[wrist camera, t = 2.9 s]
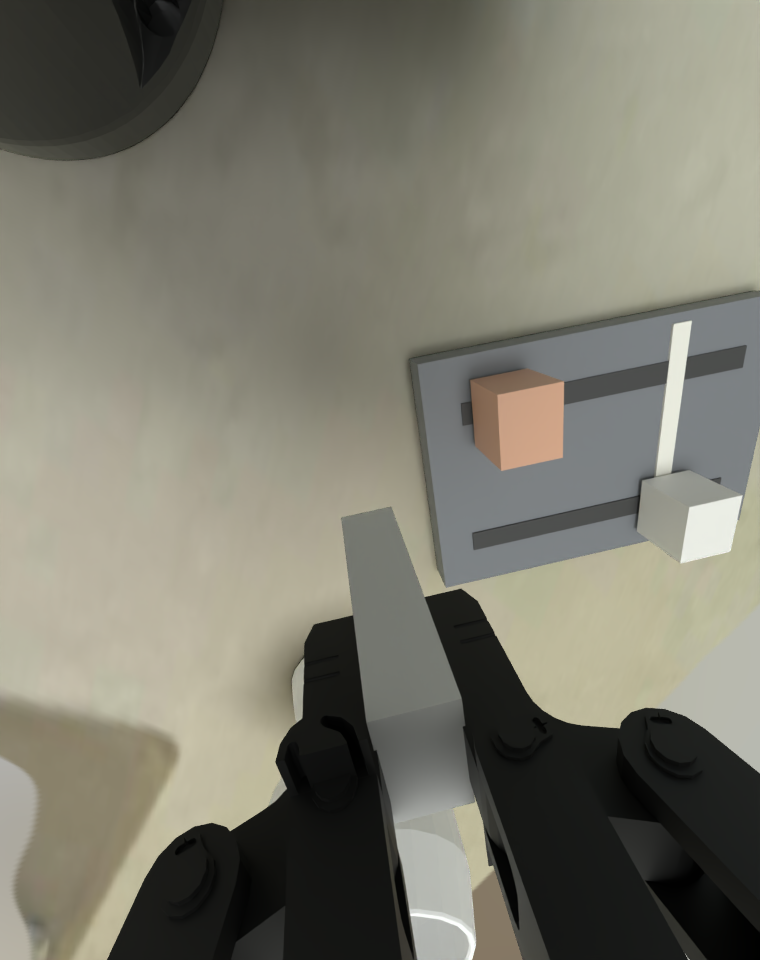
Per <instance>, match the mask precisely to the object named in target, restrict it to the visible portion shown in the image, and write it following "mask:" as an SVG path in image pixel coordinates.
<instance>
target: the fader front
mask: <svg viewBox="0 0 760 960" xmlns="http://www.w3.org/2000/svg"><path fill="white" fill-rule="evenodd" d="M470 385H471V398H472V411H473V424H474V437H475V447H477V448H478V449H479V450H480V451H481V452H482V453H483V454H484V455H485V456H486V457H487V458H488V459H489V460H490V461H491V462H492V463H493V464H494V465H495V466H497V467H498V468H499V469H500V470H501V471H503V470H508V469H513V468H517V467H522V466H527V465H531V464H536V463H540V462H545V461H550V460H554V459H559V458H563V418H564V381H562V380H559V379H556V378H553V377H550V376H548V375H545V374H542V373H539V372H536V371H533V370H530V369H528V368H526V369H521V370H517V371H512V372H507V373H502V374H497V375H492V376H487V377H482V378H477V379H472V380H470Z"/></svg>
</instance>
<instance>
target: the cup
mask: <svg viewBox="0 0 760 960" xmlns="http://www.w3.org/2000/svg"><path fill="white" fill-rule="evenodd" d="M304 667H305V666H304V659H303V660H302V661H301V662H300V663H299V665H298V666H297V668H296V669H295V671H294V675H293V678H292V693H293V706H294V713H295V719H296V723H297V722H298V721H299V720H301V719H302V716H303V684H304ZM286 789H287V788H286V786H285V783H284V781H283V779H282V777H281V779H280V781H279V782H278V784H277V786H276V788H275V789H274V792H273V794H272V797H271V800H270V803H269V806H270V805H271V804H272V803H274V802H275V801H276V800H277V799H278V798H279V797H280V796H281V795H282V793H283V792H284V791H285V790H286ZM394 827H395V834H396V840H397V847H398V851H399V855H400V859H401V862H402V866H403V873H404V879H405V885H406V892H407V898H408V904H409V911H410V917H411V923H412V930H413V936H414V942H415V949H416V955H417V960H472V958H473V954H474V950H475V947H476V936H475V925H474V913H473V901H472V890H471V878H470V870H469V866H468V862H467V858H466V854H465V851H464V847H463V843H462V840H461V836H460V832H459V829H458V825H457V821H456V818H455V814H454V810H453V808H451V809H448V810H444V811H440V812H436V813H433V814H429V815H425V816H421V817H418V818H414V819H410V820H406V821H403V822H399V823H395V824H394Z"/></svg>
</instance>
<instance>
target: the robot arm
mask: <svg viewBox="0 0 760 960" xmlns="http://www.w3.org/2000/svg"><path fill="white" fill-rule="evenodd" d="M222 2H223V0H0V149H2V150H5V151H9V152H12V153H16V154H20V155H24V156H29V157H34V158H41V159H49V160H82V159H91V158H96V157H101V156H106V155H109V154H112V153H115V152H119V151H121V150H124V149H126V148H128V147H131V146H133V145H135V144H136V143H138V142H140V141H142V140H144V139H145V138H147V137H148V136H150V135H151V134H152V133H154V132H155V131H157V130H158V129H159V128H160V127H161V126H163V125H164V124H165V123H166V122H167V121H168V120H169V119H170V118H171V117H172V116H173V115H174V114H175V113H176V112H177V110H178V109H179V108H180V107H181V105H182V104H183V103H184V102H185V100H186V99H187V97H188V96H189V94H190V93H191V91H192V90H193V88H194V86H195V85H196V83H197V81H198V79H199V78H200V76H201V73H202V71H203V69H204V67H205V65H206V62H207V60H208V57H209V55H210V52H211V49H212V46H213V43H214V39H215V36H216V32H217V29H218V24H219V19H220V14H221V9H222ZM341 520H342V528H343V536H344V544H345V552H346V561H347V569H348V577H349V585H350V593H351V601H352V609H353V616H348V617H344V618H340V619H336V620H331V621H327V622H323V623H318V624H314V625H313V627H312V629H311V631H310V633H309V635H308V637H307V639H306V641H305V645H304V666H305V667H304V684H303V716H302V719H301V720H299V721H298V722H297V723H296V724H295V725H294V726H292V727H291V728H290V730H289V731H288V733H287V734H286V736H285V737H284V739H283V740H282V742H281V744H280V747H279V750H278V754H277V758H276V765H277V767H278V769H279V772H280V774H281V776H282V779H283V781H284V783H285V786H286V788H287V789H286V790H285V791H284V792H283V793H282V795H281V796H280V797H279V798H278V799H277V800H276V801H275V802H274V803H272V804H271V805H270V806H268V807H267V808H266V809H265V810H263V811H262V812H260V813H258V814H257V815H255V816H254V817H252V818H251V819H249V820H247V821H246V822H244V823H243V824H241V825H240V826H238V827H236V828H235V829H233V830H232V831H229V830H228V828H227V827H224V826H221V825H217V824H214V823H209V824H205V825H200V826H195V827H193V828H191V829H190V830H188V831H187V832H185V833H183V834H182V835H180V836H178V837H177V838H175V840H174V841H173V842H172V843H171V844H170V845H169V846H168V847H167V848H166V849H165V850H164V851H163V852H162V853H161V854H160V855H159V856H158V858H157V859H156V861H155V863H154V864H153V866H152V868H151V869H150V871H149V873H148V874H147V876H146V878H145V879H144V881H143V883H142V886H141V888H140V890H139V892H138V894H137V896H136V899H135V901H134V903H133V905H132V907H131V909H130V912H129V914H128V916H127V918H126V920H125V922H124V924H123V927H122V929H121V931H120V933H119V935H118V937H117V940H116V942H115V944H114V946H113V948H112V950H111V952H110V955H109V957H108V959H107V960H417V955H416V949H415V942H414V936H413V930H412V923H411V917H410V911H409V904H408V898H407V892H406V885H405V879H404V873H403V866H402V862H401V859H400V855H399V851H398V847H397V840H396V834H395V827H394V824H395V823H399V822H403V821H406V820H410V819H414V818H418V817H421V816H425V815H429V814H433V813H436V812H440V811H444V810H448V809H451V808H455V807H459V806H463V805H466V804H470V803H474V802H475V798H476V801H477V804H478V807H479V811H480V814H481V817H482V820H483V824H484V833H485V841H486V850H487V857H488V864H489V866H492V865H493V866H494V869H495V872H496V875H497V879H498V882H499V885H500V888H501V892H502V895H503V898H504V901H505V904H506V907H507V911H508V914H509V917H510V920H511V924H512V927H513V930H514V933H515V936H516V939H517V943H518V946H519V949H520V952H521V956H522V959H523V960H688V959H687V957H688V958H689V959H690V960H760V773H758V772H757V771H756V770H755V769H753V768H752V767H751V766H750V765H748V764H747V763H746V762H745V761H744V760H742V759H741V758H740V757H739V756H737V755H736V754H735V753H734V752H733V751H731V750H730V749H729V748H728V747H727V746H725V745H724V744H723V743H722V742H720V741H719V740H718V739H717V738H715V737H714V736H713V735H712V734H711V733H709V732H708V731H707V730H706V729H704V728H703V727H701V726H700V725H698V724H696V723H695V722H693V721H692V720H690V719H689V718H687V717H685V716H683V715H680V714H677V713H674V712H671V711H669V710H666V709H655V708H644V709H641V710H637V711H634V712H631V713H630V714H629V715H628V716H627V717H626V718H625V719H624V720H623V721H622V722H621V726H620V729H619V728H606V727H593V726H581V725H576V724H570V723H567V722H564V721H561V720H559V719H556V718H554V717H552V716H551V715H549V714H548V713H546V712H544V711H543V710H542V709H541V708H540V707H538V706H537V705H536V704H535V703H534V702H533V701H532V699H531V698H530V696H529V695H528V694H527V692H526V690H525V688H524V687H523V685H522V683H521V681H520V679H519V677H518V675H517V674H516V672H515V670H514V668H513V666H512V664H511V662H510V661H509V659H508V657H507V655H506V653H505V651H504V649H503V648H502V646H501V644H500V642H499V640H498V638H497V636H495V634H494V631H493V629H492V627H491V625H490V623H489V622H488V621H487V618H486V616H485V614H484V612H483V610H482V609H481V607H480V605H479V603H478V601H477V600H475V599H474V598H473V597H471V596H470V595H469V594H468V593H466V592H465V591H464V590H462V589H458V590H453V591H449V592H445V593H441V594H436V595H432V596H428V597H424V595H423V592H422V589H421V586H420V584H419V581H418V578H417V576H416V573H415V570H414V567H413V565H412V562H411V559H410V557H409V554H408V551H407V548H406V546H405V543H404V540H403V538H402V535H401V532H400V529H399V527H398V524H397V521H396V518H395V516H394V513H393V510H392V508H391V507H387V508H383V509H378V510H374V511H369V512H365V513H360V514H355V515H351V516H346V517H342V518H341ZM474 795H475V798H474ZM685 954H686V955H687V957H686V955H685Z"/></svg>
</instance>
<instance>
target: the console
mask: <svg viewBox="0 0 760 960" xmlns="http://www.w3.org/2000/svg"><path fill="white" fill-rule="evenodd" d="M409 361H410V368H411V376H412V383H413V391H414V398H415V406H416V413H417V420H418V428H419V435H420V443H421V450H422V457H423V465H424V472H425V480H426V487H427V495H428V502H429V509H430V517H431V524H432V532H433V539H434V546H435V554H436V561H437V569H438V571H439V573H440V576H441V578H442V580H443V582H444V585H445V587H451V586H455V585H459V584H464V583H468V582H472V581H477V580H481V579H485V578H490V577H494V576H498V575H503V574H507V573H511V572H516V571H520V570H524V569H529V568H533V567H537V566H542V565H546V564H550V563H554V562H559V561H563V560H567V559H572V558H576V557H580V556H585V555H589V554H593V553H598V552H602V551H606V550H611V549H615V548H619V547H624V546H628V545H632V544H637V543H641V542H645V541H649V540H648V539H647V538H645V537H644V536H642V535H641V534H640V533H638V532H637V525H638V516H639V506H640V497H641V487H642V480H646V479H651V478H655V477H660V476H664V475H669V474H673V473H678V472H682V471H687V470H690V471H692V472H695V473H697V474H699V475H701V476H703V477H705V478H707V479H709V480H711V481H714V482H716V483H718V484H720V485H722V486H724V487H726V488H728V489H731V490H733V491H735V492H737V493H739V494H741V495H743V496H742V501H741V505H740V510H739V514H738V519H737V520H739V517H740V513H741V508H742V504H743V499H744V495H745V490H746V486H747V481H748V477H749V472H750V468H751V463H752V459H753V454H754V450H755V445H756V441H757V436H758V432H759V427H760V291H751V292H745V293H740V294H735V295H730V296H725V297H720V298H715V299H710V300H705V301H700V302H695V303H690V304H685V305H680V306H674V307H669V308H664V309H659V310H654V311H649V312H644V313H639V314H634V315H629V316H624V317H619V318H614V319H609V320H603V321H598V322H593V323H588V324H583V325H578V326H573V327H568V328H563V329H558V330H553V331H548V332H543V333H538V334H533V335H527V336H522V337H517V338H512V339H507V340H502V341H497V342H492V343H487V344H482V345H477V346H472V347H467V348H462V349H456V350H451V351H446V352H441V353H436V354H431V355H426V356H421V357H416V358H411V359H409ZM526 368H528V369H530V370H533V371H536V372H539V373H542V374H545V375H548V376H550V377H553V378H556V379H559V380H562V381H564V418H563V458H559V459H554V460H550V461H545V462H540V463H536V464H531V465H527V466H522V467H517V468H513V469H508V470H503V471H501V470H500V469H499V468H498V467H497V466H495V465H494V464H493V463H492V462H491V461H490V460H489V459H488V458H487V457H486V456H485V455H484V454H483V453H482V452H481V451H480V450H479V449H478V448H477V447H475V437H474V424H473V411H472V398H471V385H470V380H472V379H477V378H482V377H487V376H492V375H497V374H502V373H507V372H512V371H517V370H521V369H526Z"/></svg>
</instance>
